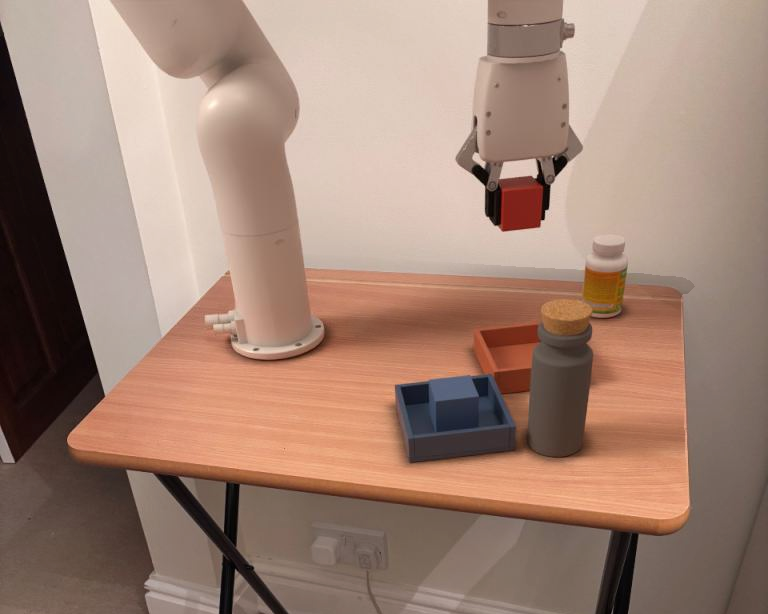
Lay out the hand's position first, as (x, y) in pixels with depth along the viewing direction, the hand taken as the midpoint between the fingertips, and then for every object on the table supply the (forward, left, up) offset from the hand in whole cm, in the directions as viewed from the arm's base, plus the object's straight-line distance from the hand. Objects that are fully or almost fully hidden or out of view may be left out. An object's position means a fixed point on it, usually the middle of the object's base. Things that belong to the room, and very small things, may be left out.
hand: (516, 217), depth 91 cm
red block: (0, 0, -1) cm, 1 cm away
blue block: (-11, -20, -15) cm, 27 cm away
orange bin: (0, -8, -15) cm, 17 cm away
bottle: (-1, -24, -16) cm, 29 cm away
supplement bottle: (+14, +5, -16) cm, 21 cm away
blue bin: (-11, -19, -15) cm, 27 cm away
